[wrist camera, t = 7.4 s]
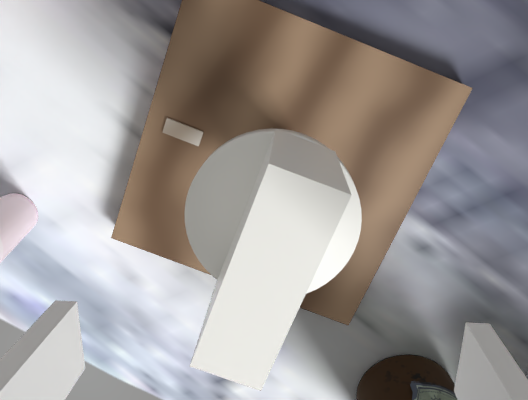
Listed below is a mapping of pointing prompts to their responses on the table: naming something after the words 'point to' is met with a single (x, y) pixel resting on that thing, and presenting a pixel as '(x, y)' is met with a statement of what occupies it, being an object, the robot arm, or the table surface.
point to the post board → (286, 126)
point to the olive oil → (406, 380)
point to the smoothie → (15, 221)
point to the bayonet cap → (266, 243)
